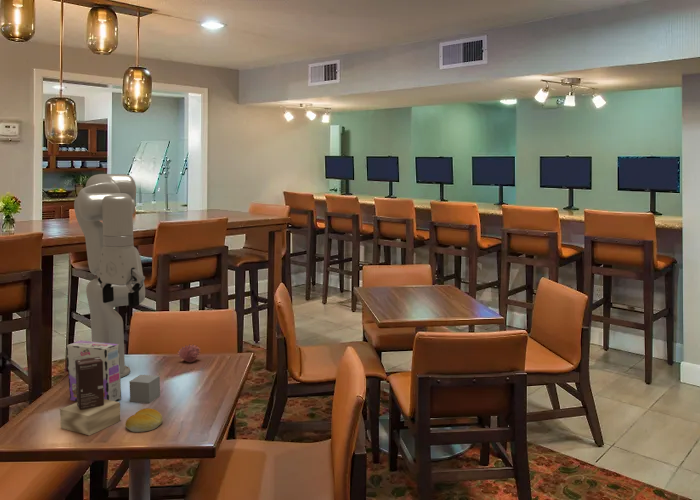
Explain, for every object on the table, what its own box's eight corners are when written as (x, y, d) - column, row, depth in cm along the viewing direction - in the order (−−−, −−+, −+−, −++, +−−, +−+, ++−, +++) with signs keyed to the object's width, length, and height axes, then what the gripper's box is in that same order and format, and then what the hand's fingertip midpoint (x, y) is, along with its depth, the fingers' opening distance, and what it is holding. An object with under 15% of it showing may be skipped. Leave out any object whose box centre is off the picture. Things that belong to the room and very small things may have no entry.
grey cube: (130, 401, 171) (129, 381, 171) (141, 394, 177) (140, 374, 176) (149, 403, 170) (148, 382, 169) (160, 395, 176) (159, 376, 175)
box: (80, 410, 151) (77, 364, 150) (76, 405, 155) (74, 359, 154) (105, 405, 155) (103, 360, 153) (101, 400, 158) (99, 355, 157)
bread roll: (119, 432, 151) (119, 416, 151) (140, 418, 160) (139, 403, 160) (149, 435, 149) (148, 419, 149) (168, 421, 158) (167, 406, 158)
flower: (195, 349, 203) (194, 336, 207) (174, 358, 203) (172, 346, 207) (206, 361, 209) (204, 349, 213) (185, 370, 209) (183, 358, 213)
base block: (61, 428, 153) (60, 409, 152) (93, 414, 162) (92, 396, 161) (89, 435, 149) (88, 415, 148) (120, 420, 158) (119, 402, 157)
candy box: (122, 399, 173) (120, 343, 171) (108, 406, 168) (105, 348, 166) (84, 393, 178) (81, 339, 176) (68, 400, 172) (65, 344, 170)
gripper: (84, 240, 162) (87, 303, 164) (130, 245, 154) (133, 311, 157) (107, 237, 169) (109, 297, 171) (152, 242, 161) (154, 305, 163)
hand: (121, 304), depth 164 cm, fingers open, 9 cm apart
